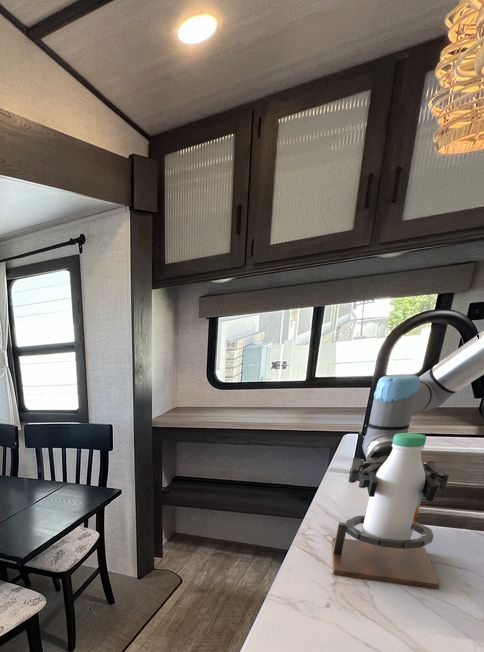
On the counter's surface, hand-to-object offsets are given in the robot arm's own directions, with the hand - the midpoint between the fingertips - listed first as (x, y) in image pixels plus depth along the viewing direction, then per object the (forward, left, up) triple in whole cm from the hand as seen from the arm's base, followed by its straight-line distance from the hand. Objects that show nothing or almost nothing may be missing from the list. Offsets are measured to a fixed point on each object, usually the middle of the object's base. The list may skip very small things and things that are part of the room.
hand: (401, 491), depth 83 cm
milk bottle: (0, -5, -11) cm, 12 cm away
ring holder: (0, -5, -17) cm, 17 cm away
